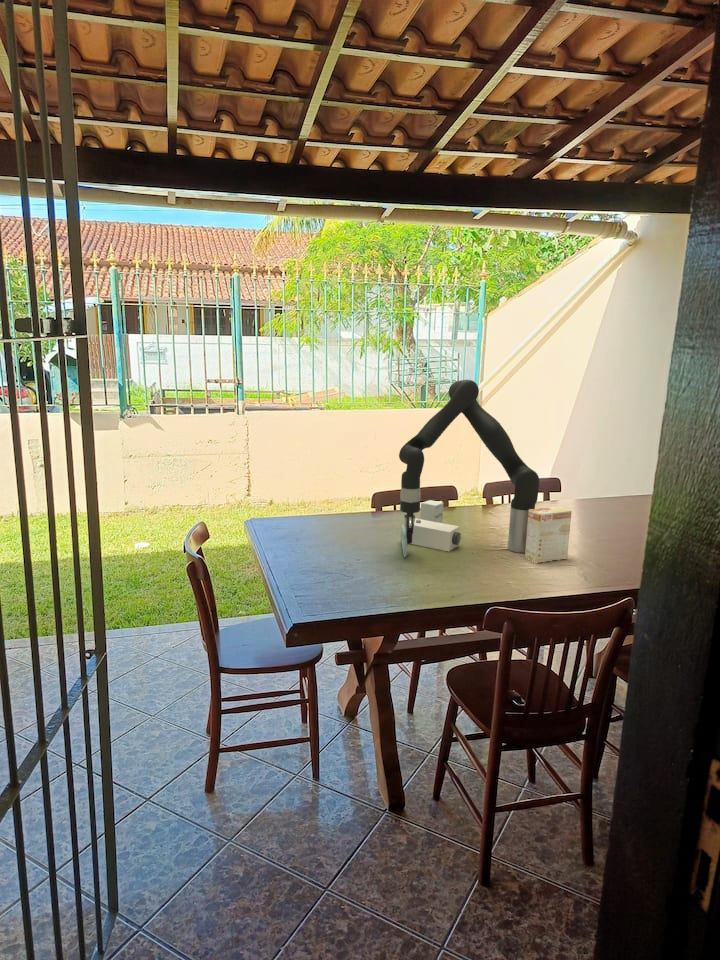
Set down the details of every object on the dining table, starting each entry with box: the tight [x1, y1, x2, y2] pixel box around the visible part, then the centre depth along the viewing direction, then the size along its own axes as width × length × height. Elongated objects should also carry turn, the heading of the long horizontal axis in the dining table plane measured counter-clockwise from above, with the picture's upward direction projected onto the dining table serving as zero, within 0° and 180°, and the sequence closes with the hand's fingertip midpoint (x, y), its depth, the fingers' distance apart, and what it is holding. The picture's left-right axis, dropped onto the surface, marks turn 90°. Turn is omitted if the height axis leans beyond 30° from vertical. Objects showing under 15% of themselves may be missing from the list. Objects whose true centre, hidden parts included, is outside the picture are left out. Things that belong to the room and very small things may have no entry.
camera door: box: [400, 523, 408, 558], centre depth 244 cm, size 19×1×7 cm, turn 0°
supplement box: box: [419, 499, 444, 523], centre depth 270 cm, size 7×7×13 cm
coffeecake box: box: [524, 505, 572, 564], centre depth 236 cm, size 15×7×20 cm, turn 111°
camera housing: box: [403, 517, 462, 553], centre depth 252 cm, size 22×9×9 cm, turn 58°
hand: (409, 542), depth 238 cm, fingers closed
